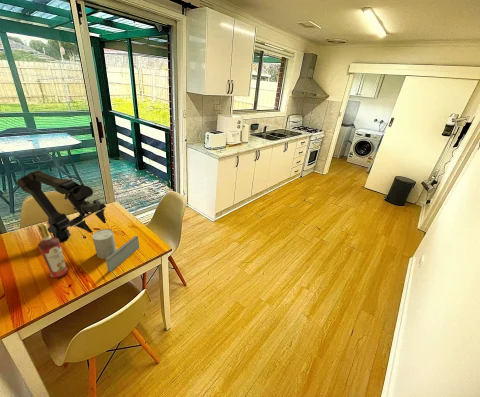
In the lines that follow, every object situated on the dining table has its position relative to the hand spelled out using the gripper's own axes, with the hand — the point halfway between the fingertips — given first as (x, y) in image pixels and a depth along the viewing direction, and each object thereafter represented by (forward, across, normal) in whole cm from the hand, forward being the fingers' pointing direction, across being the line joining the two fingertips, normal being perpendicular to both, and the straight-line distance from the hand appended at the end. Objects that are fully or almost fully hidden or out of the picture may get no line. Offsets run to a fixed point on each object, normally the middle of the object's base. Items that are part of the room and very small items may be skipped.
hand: (98, 227), depth 118 cm
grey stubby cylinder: (+14, -2, +5) cm, 15 cm away
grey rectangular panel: (+21, -2, -5) cm, 21 cm away
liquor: (+10, -21, +12) cm, 26 cm away
